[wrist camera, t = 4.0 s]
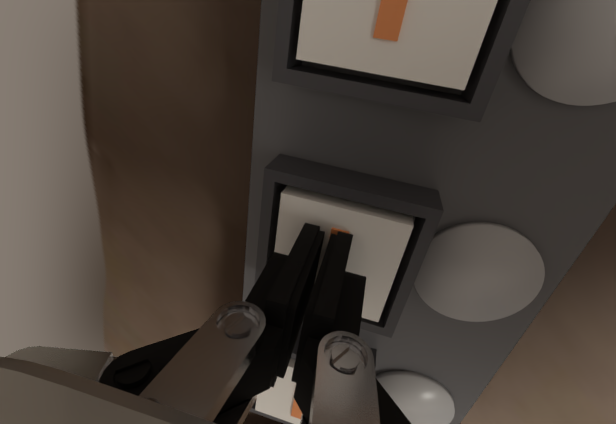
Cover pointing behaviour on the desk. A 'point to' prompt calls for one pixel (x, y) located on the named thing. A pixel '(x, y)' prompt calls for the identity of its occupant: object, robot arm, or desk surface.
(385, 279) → the middle button
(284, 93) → the button panel
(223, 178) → the desk surface
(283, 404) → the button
